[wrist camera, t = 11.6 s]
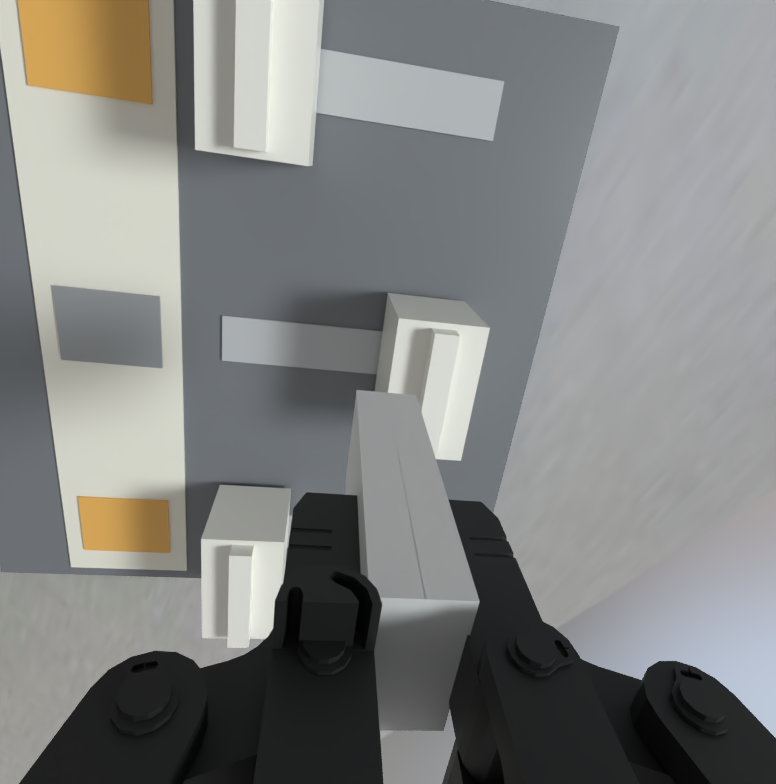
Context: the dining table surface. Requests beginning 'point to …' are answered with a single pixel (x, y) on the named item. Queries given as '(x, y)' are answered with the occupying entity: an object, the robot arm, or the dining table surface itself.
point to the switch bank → (259, 258)
